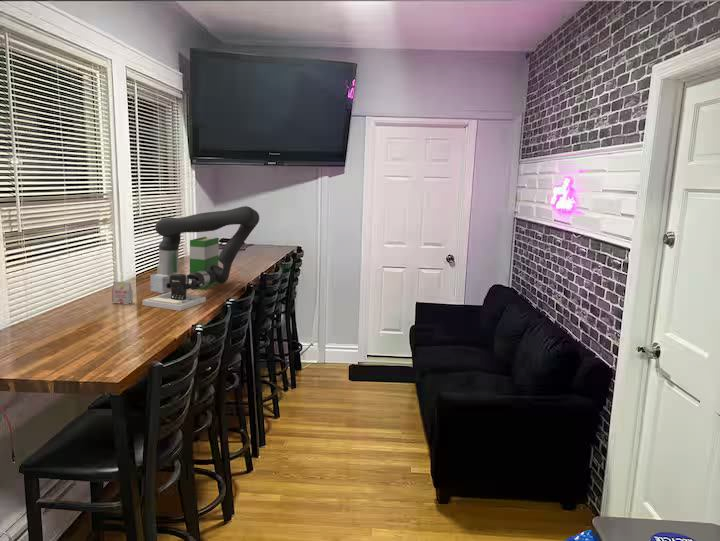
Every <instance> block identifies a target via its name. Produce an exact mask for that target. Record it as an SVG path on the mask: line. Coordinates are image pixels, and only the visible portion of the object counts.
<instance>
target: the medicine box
mask: <svg viewBox="0 0 720 541" xmlns="http://www.w3.org/2000/svg"><path fill="white" fill-rule="evenodd" d="M169 279H170V276H167V275H162V274H157V273H154V274H150V278H149V280H150V292H151V291H153V292H152V293H159V294H166V293H169V292H171V288H167V287H166V284H167V283H169Z"/></svg>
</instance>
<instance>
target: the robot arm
mask: <svg viewBox="0 0 720 541" xmlns="http://www.w3.org/2000/svg"><path fill="white" fill-rule="evenodd" d="M259 222H260V214H259V213H258V212H257V211H256V210H255V209H254V208H253V207H250V206H248V205H247V206H246V205H245V206H239V207H236V208H232V209H227V210H218V211H207V212H201V213H196V214H191V215H188V216H184V217H163V218H160V219H159V220H158V221H157V222H156V223H155V228H154V229H155V232H156V233H157V234H158V235H160V236H162V240H161V241H160V243H158V244H159V245H158V264H157V265H156V266H157V267H156V268H157V270H156V271H157V273H156V274H162V275H167V276H170V275H171V274H173V273H180V272H179V271H180V270H179V268H180V267H179V256H180V255H179V251H180V249H179V246H180V244H181V236H182V235H181V234H184V233H205V232H207V233H208V232H213V231H217V230H220V229H221V228H224V227H226V226H233V225H239V227H238V229H237V230H236V232H235V233H234V234H233V236H232V237H231V238H230V239H229V240H228V241H227V242H226V243H225V245H224V246H223V248H222V250H221V252H220V253H219V254H218V262H220V263H221V264H222V267H220V266H219V265H218V266H217V265H211V266H209V267H208V268H207V269H206V270H204V271H198V272H194V273H191V274H190V273H188V274H186V275H187V284H185V285H182V290H187V291H188V290H190V291H196V290H200V289H199V288H202V287H204V286H206V285H209V284H212V283H213V282H214V281H216V282H218V283H217V284H220V285H221V284H222V285H223V284H225V283H226V282H227V281H228V280H229V276H230V272H231V268H232V265H233V262H234V260H235V258H236V257H237V255H238V253H239V251H240V249H241V247H242V246H243V245H244V243H245V241H246V240H247V238H248V237H249V236H250V234H251V233H252V232H253V230H254V229H255V227H256V226H257V225H258V223H259ZM166 287H167V288H170V289H171V286H170V285H169V283H167V284H166Z"/></svg>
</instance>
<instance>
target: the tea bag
mask: <svg viewBox="0 0 720 541" xmlns="http://www.w3.org/2000/svg"><path fill="white" fill-rule="evenodd" d="M111 290H112V291H111V303H112V302H120V303H126V304H129V303H130V302H133V303H134V300H133V299H134V295H133V293H134V292H133V288H132V285H131V282H129V281H113V285H112V289H111ZM129 305H130V304H129Z"/></svg>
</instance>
